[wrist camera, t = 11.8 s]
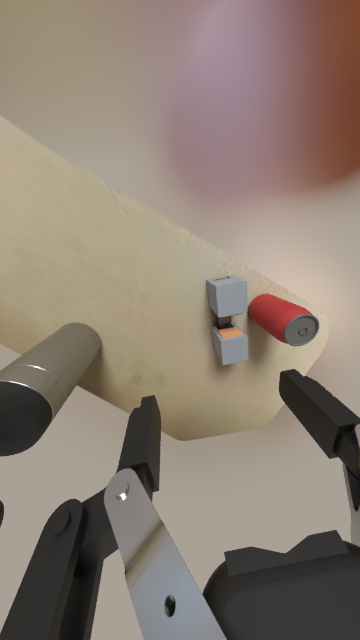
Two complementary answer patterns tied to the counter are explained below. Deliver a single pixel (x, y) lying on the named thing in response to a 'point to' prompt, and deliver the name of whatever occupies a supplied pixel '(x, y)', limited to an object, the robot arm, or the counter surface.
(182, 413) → the counter surface
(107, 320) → the counter surface
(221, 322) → the rail
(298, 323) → the beer can
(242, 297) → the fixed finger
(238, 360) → the grey block
